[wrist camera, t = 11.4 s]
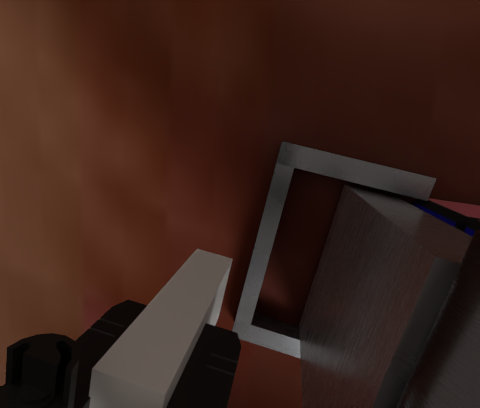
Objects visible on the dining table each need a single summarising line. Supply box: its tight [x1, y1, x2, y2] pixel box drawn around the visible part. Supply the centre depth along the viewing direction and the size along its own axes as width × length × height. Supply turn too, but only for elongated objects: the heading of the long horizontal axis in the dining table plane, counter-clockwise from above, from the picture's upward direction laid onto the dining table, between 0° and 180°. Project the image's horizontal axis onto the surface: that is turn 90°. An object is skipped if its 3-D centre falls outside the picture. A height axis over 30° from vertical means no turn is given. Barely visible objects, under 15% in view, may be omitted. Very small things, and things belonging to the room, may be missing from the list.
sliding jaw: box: [299, 184, 480, 408], centre depth 12 cm, size 3×11×13 cm, turn 167°
